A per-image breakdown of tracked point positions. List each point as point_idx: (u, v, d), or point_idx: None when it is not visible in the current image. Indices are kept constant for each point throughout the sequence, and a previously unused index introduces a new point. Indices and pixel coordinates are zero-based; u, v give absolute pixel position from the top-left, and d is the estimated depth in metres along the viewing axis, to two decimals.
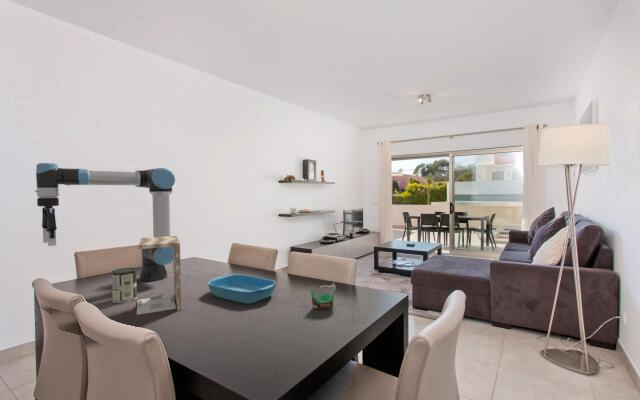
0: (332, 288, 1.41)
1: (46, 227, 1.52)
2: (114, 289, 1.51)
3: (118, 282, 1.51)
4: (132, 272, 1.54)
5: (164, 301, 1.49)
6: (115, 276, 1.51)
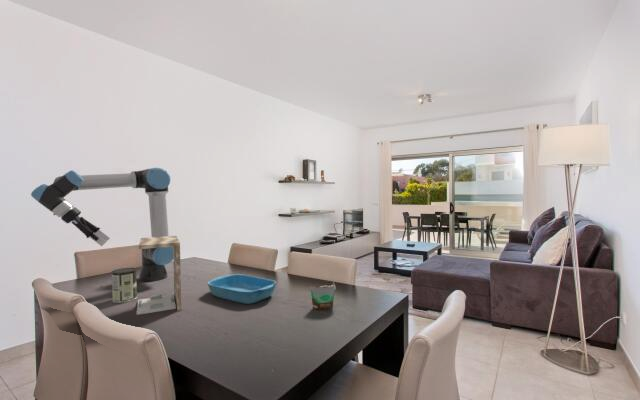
0: (332, 288, 1.41)
1: (96, 231, 1.63)
2: (114, 289, 1.51)
3: (118, 282, 1.51)
4: (132, 272, 1.54)
5: (164, 301, 1.49)
6: (115, 276, 1.51)
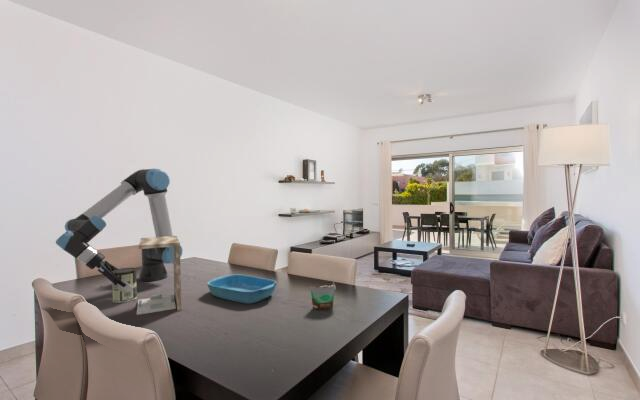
0: (332, 288, 1.41)
1: None
2: (114, 289, 1.51)
3: None
4: (132, 272, 1.54)
5: (164, 301, 1.49)
6: None
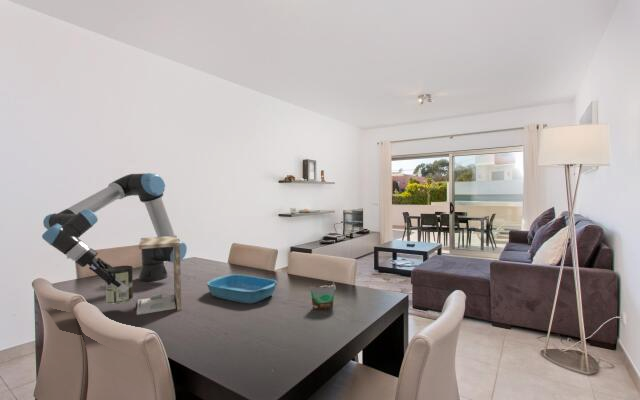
0: (332, 288, 1.41)
1: None
2: (107, 289, 1.36)
3: None
4: (128, 270, 1.39)
5: (164, 301, 1.49)
6: None
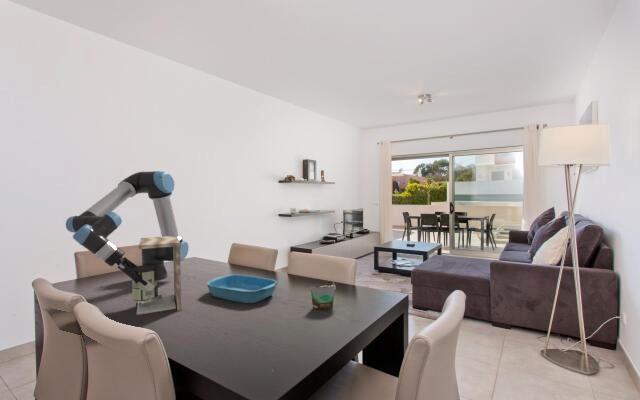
0: (332, 288, 1.41)
1: None
2: (134, 288, 1.40)
3: None
4: (153, 269, 1.43)
5: (164, 301, 1.49)
6: None
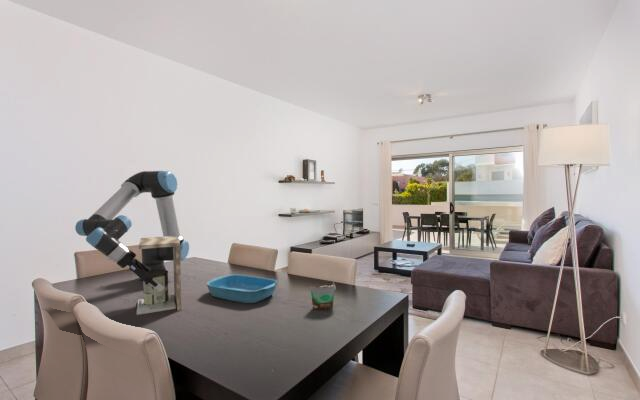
0: (332, 288, 1.41)
1: None
2: (146, 292, 1.43)
3: None
4: (164, 274, 1.45)
5: None
6: None
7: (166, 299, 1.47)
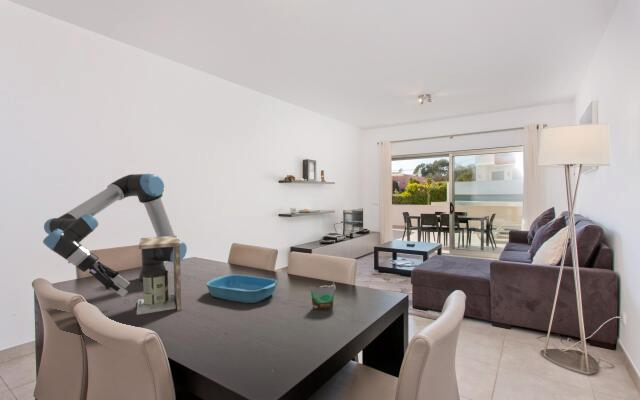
0: (332, 288, 1.41)
1: (114, 276, 1.46)
2: (146, 292, 1.43)
3: (150, 285, 1.42)
4: (164, 274, 1.45)
5: None
6: (147, 279, 1.42)
7: (166, 299, 1.47)
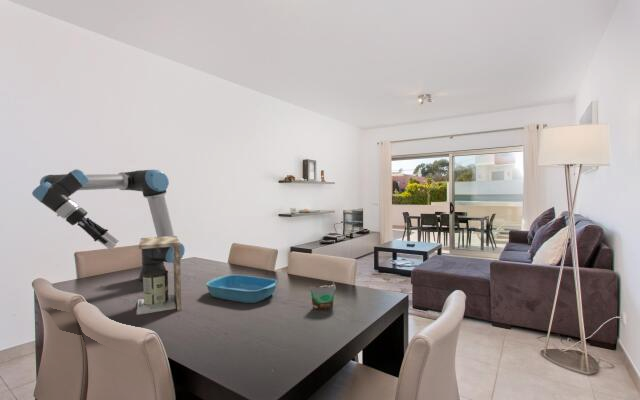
0: (332, 288, 1.41)
1: (103, 233, 1.49)
2: (146, 292, 1.43)
3: (150, 285, 1.42)
4: (164, 274, 1.45)
5: None
6: (147, 279, 1.42)
7: (166, 299, 1.47)
